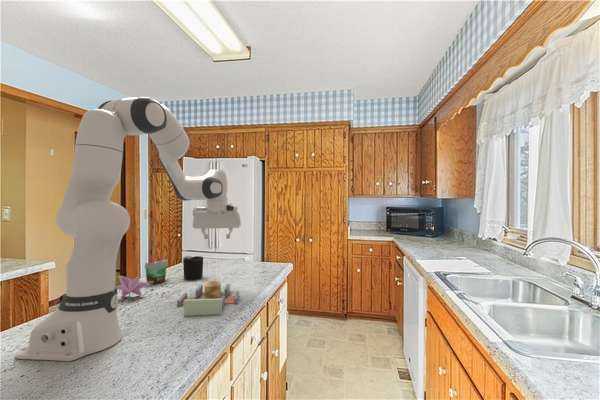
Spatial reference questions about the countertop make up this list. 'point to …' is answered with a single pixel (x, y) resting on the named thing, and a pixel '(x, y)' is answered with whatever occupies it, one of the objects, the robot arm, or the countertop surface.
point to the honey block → (212, 289)
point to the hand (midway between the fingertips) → (217, 238)
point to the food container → (156, 271)
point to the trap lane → (206, 303)
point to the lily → (131, 286)
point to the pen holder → (193, 268)
